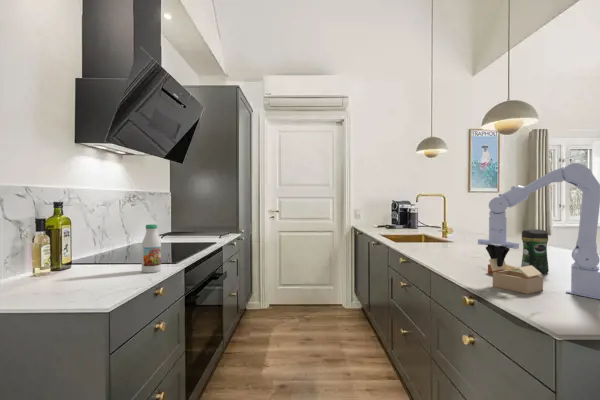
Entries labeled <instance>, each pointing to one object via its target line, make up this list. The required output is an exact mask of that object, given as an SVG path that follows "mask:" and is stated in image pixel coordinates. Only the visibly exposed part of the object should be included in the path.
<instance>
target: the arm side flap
mask: <svg viewBox="0 0 600 400" xmlns="http://www.w3.org/2000/svg"><path fill="white" fill-rule="evenodd" d="M517 268H518V269H519V270H520V271H521V272H522V273H523V274H524V275H526V276H527V277H533V276H538V275H540V276H543V273H541V272H539V271H538V270H537V269H536V268H534V267H533V266H532V265H530V266H525V267H521V266H520V267H517Z"/></svg>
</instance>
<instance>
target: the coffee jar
mask: <svg viewBox="0 0 600 400" xmlns="http://www.w3.org/2000/svg"><path fill="white" fill-rule="evenodd" d="M521 240H522V246H523V247H522V248H523V249H522V255H521V256H522V257H521V264H520V265H521V266H520V267H525V266H530V265H532V266H533V267H534V268H536V269H537V270H538V271H539V272H541V273H542V274H548V273H549V262H548V261H549V260H548V259H549V258H548V249H547V245H548V241H549V234H548V231H547V230H544V229H533V228H532V229H531V228H530V229H523V230H522V231H521Z"/></svg>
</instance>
